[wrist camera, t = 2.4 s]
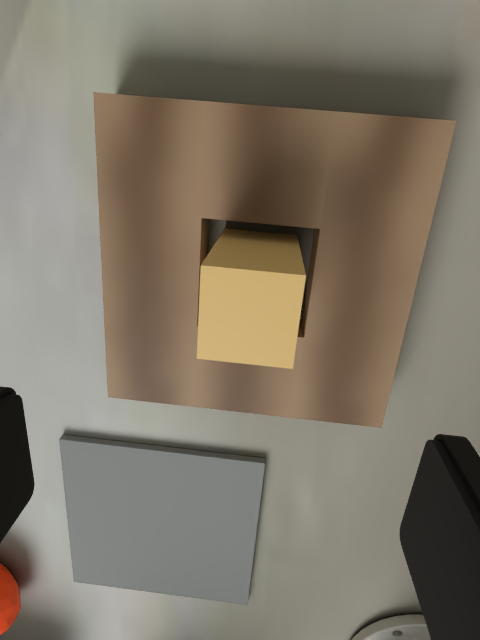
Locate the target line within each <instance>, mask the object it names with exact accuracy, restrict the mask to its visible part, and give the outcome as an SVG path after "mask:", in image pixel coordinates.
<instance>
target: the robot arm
mask: <svg viewBox="0 0 480 640" xmlns="http://www.w3.org/2000/svg"><path fill="white" fill-rule="evenodd" d="M33 490H34V477H33V470H32V464H31V457H30V450H29V443H28V436H27V430H26V423H25V416H24V409H23V402H22V398H21V397H20V396H19V395H16V392H15V391H14V389H12V388H8V387H0V543H1V541H2V540H3V538H4V537H5V535H6V534H7V532H8V531H9V529H10V528H11V526H12V525H13V524H14V522H15V521H16V519H17V518H18V516H19V515H20V513H21V512H22V510H23V509H24V507H25V506H26V505H27V503H28V502H29V500H30V498H31V496H32V494H33ZM400 541H401V545H402V549H403V552H404V555H405V558H406V561H407V565H408V568H409V571H410V574H411V577H412V581H413V584H414V587H415V590H416V593H417V596H418V600H419V603H420V606H421V609H422V612H423V615H418V614H408V615H400V616H394V617H390V618H386V619H382V620H380V621H377V622H375V623H372V624H370V625H369V626H367V627H365V628H364V629H362V630H361V631H360V632H359V633H358V634H356V635H355V636H354V637H353V639H352V640H480V457H479V455H478V454H477V452H476V451H475V449H474V448H473V446H472V445H471V443H470V442H469V440H468V439H467V438H465V437H461V436H452V435H442V434H438V435H436V436H435V438H434V440H428V441H427V442H426V444H425V447H424V450H423V454H422V457H421V460H420V464H419V467H418V470H417V473H416V477H415V480H414V483H413V486H412V490H411V493H410V496H409V500H408V503H407V506H406V509H405V513H404V516H403V519H402V522H401V526H400Z"/></svg>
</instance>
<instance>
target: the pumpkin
mask: <svg viewBox="0 0 480 640" xmlns="http://www.w3.org/2000/svg"><path fill="white" fill-rule="evenodd" d="M20 608H21V604H20V592H19V587H18V584H17V582H16V581H15V579H14V578H13V576H12V575H11V573H10V572H9V571H8V569H7V568H6V567H5V566H4V565H2V564H0V635H1V634H3V633H4V632H6V631H7V629H8V628H9V627H10V626H11V625H12V624H13V622H14V621H15V619H16V617H17V615H18V613H19V610H20Z"/></svg>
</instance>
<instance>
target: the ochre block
mask: <svg viewBox="0 0 480 640" xmlns="http://www.w3.org/2000/svg"><path fill="white" fill-rule="evenodd" d="M305 279H306V273H305V269H304V264H303V260H302V255H301V251H300V246H299V242H298V237H297V235H290V234H280V233H269V232H258V231H247V230H237V229H226V228H225V229H224V230H223V232H222V233H221V235H220V237H219V238H218V240H217V241H216V243H215V244H214V246H213V247H212V249H211V250H210V252H209V253H208V255H207V256H206V258H205V260H204V261H203V263H202V264H201V271H200V294H199V317H198V340H197V359H205V360H214V361H223V362H232V363H242V364H251V365H260V366H270V367H279V368H288V369H293V364H294V357H295V350H296V343H297V336H298V329H299V322H300V315H301V308H302V301H303V294H304V287H305Z"/></svg>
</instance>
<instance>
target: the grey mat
mask: <svg viewBox="0 0 480 640" xmlns="http://www.w3.org/2000/svg"><path fill="white" fill-rule="evenodd" d="M59 441H60V451H61V460H62V470H63V480H64V490H65V499H66V509H67V519H68V529H69V538H70V548H71V558H72V567H73V577H74V582H79V583H87V584H94V585H102V586H109V587H117V588H125V589H132V590H140V591H147V592H155V593H162V594H170V595H177V596H185V597H192V598H200V599H207V600H215V601H222V602H230V603H237V604H245V605H248V597H249V589H250V581H251V573H252V565H253V557H254V549H255V540H256V532H257V524H258V516H259V508H260V500H261V492H262V484H263V476H264V468H265V458H259V457H251V456H242V455H234V454H225V453H216V452H208V451H199V450H191V449H182V448H174V447H165V446H156V445H148V444H139V443H131V442H122V441H114V440H105V439H96V438H88V437H79V436H71V435H62V437H61V438H60V439H59Z"/></svg>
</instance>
